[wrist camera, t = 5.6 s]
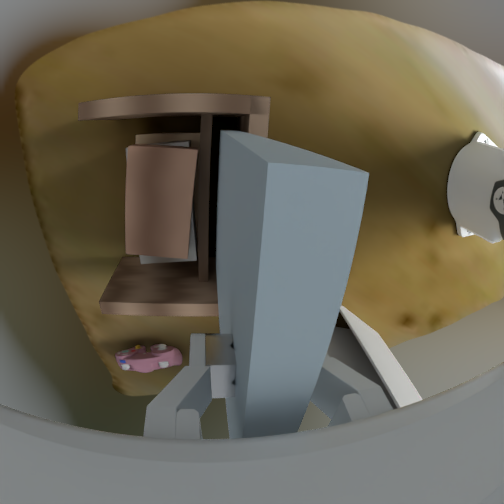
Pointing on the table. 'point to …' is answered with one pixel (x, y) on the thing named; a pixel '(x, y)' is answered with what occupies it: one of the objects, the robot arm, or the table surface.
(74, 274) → the table surface
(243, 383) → the sheet
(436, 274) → the table surface
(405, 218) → the table surface
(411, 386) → the brochure
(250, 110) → the rack
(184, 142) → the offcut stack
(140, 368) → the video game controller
